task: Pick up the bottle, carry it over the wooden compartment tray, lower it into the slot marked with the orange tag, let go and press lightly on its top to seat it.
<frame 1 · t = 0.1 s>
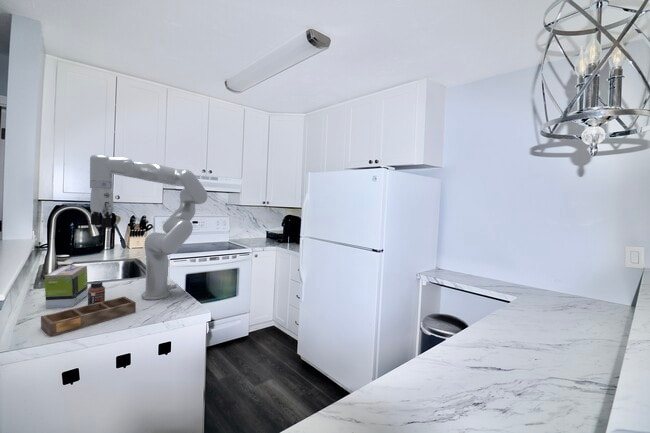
hand: (100, 225, 127), 37 cm above the worktop, tool pointing down, fingers open, 9 cm apart
wooden compartment tray: (91, 319, 120), on the worktop
tea box: (67, 302, 136), on the worktop
supplement bottle: (96, 308, 132), on the worktop
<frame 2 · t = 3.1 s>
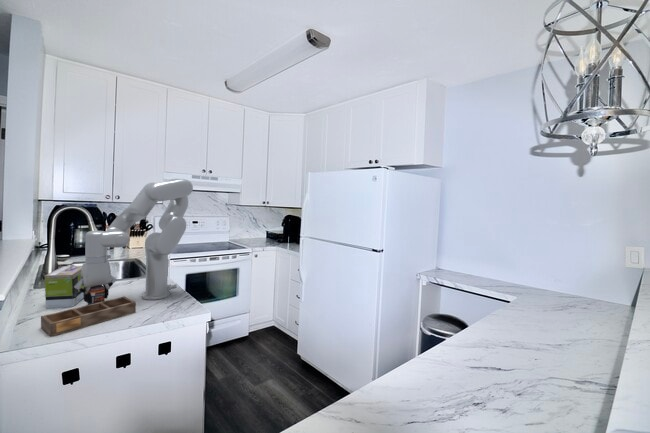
hand: (96, 299, 131), 4 cm above the worktop, tool pointing down, fingers closed on supplement bottle, 6 cm apart
supplement bottle: (96, 307, 132), on the worktop, touching gripper
everything else where it was.
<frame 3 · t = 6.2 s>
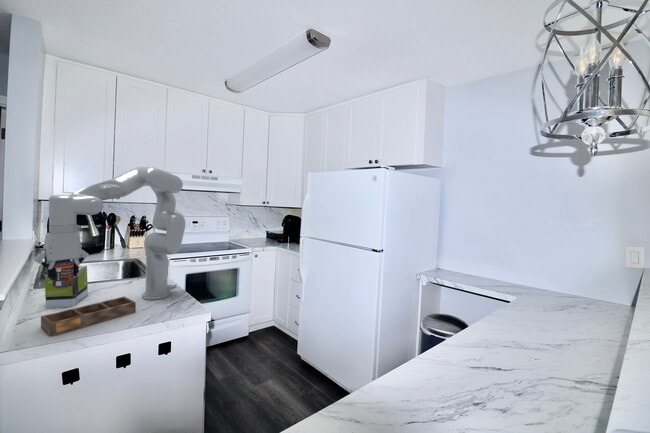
hand: (63, 276, 111), 19 cm above the worktop, tool pointing down, fingers closed on supplement bottle, 6 cm apart
supplement bottle: (63, 286, 112), point 16 cm above the worktop, touching gripper
everything else where it was.
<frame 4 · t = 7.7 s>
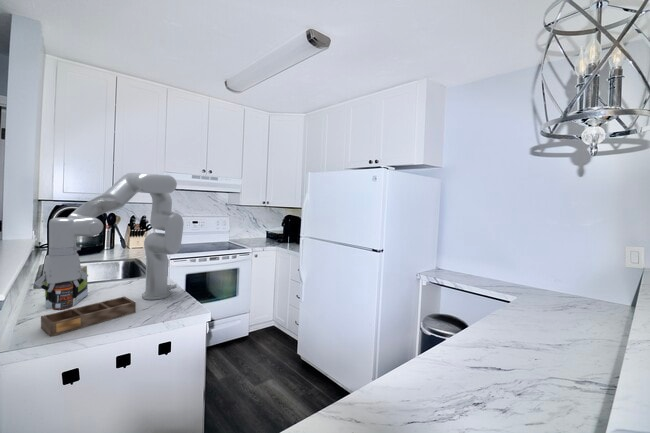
hand: (62, 298, 112), 11 cm above the worktop, tool pointing down, fingers closed on supplement bottle, 6 cm apart
supplement bottle: (62, 308, 112), point 7 cm above the worktop, touching gripper
everything else where it was.
when the fingers open (6 cm above the worktop, at t = 9.2 s): supplement bottle drops 2 cm, resting on wooden compartment tray.
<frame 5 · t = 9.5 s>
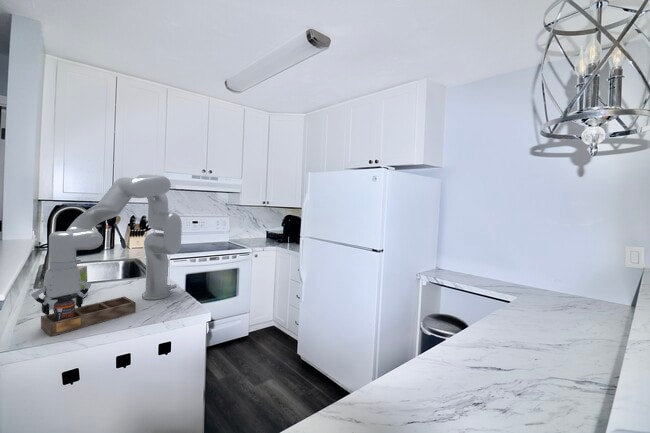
hand: (63, 310, 112), 7 cm above the worktop, tool pointing down, fingers open, 9 cm apart
supplement bottle: (64, 325, 113), point 1 cm above the worktop, touching wooden compartment tray
everything else where it was.
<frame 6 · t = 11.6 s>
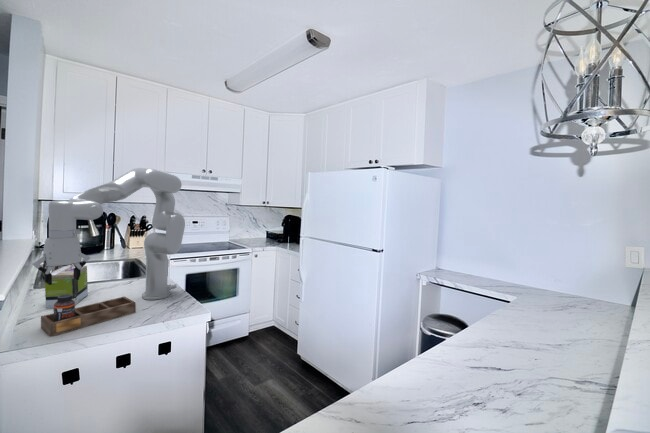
hand: (63, 281, 111), 18 cm above the worktop, tool pointing down, fingers open, 7 cm apart
nothing on the worktop moved.
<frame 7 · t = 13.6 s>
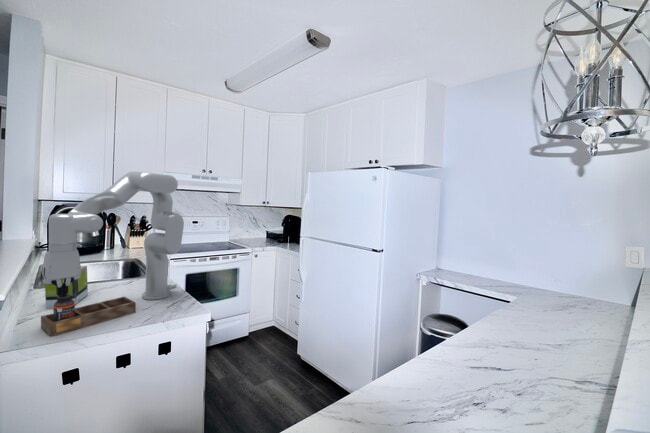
hand: (62, 296, 112), 12 cm above the worktop, tool pointing down, fingers closed
supplement bottle: (64, 325, 113), point 1 cm above the worktop, touching wooden compartment tray, gripper
everything else where it was.
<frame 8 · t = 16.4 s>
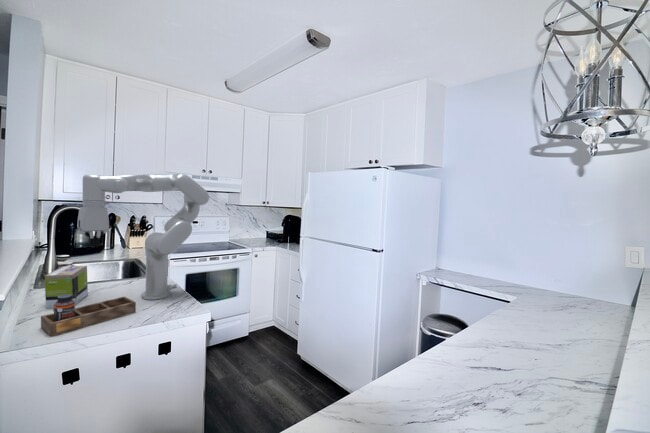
hand: (93, 246, 129), 27 cm above the worktop, tool pointing down, fingers closed
supplement bottle: (64, 325, 113), point 1 cm above the worktop, touching wooden compartment tray
everything else where it was.
at the end: supplement bottle 0.4 cm from the target spot on the wooden compartment tray, point 0.6 cm above the wooden compartment tray's base; supplement bottle tilted 0°; the gripper is holding nothing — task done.
